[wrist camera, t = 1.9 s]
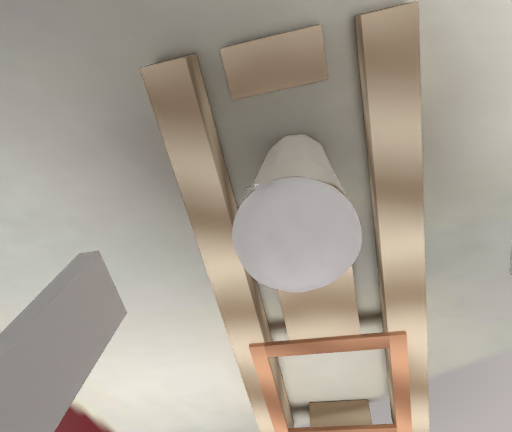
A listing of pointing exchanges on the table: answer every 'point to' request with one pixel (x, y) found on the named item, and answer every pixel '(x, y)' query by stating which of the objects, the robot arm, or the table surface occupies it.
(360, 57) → the wooden slide rule
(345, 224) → the milkshake
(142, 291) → the table surface
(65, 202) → the table surface
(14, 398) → the robot arm
